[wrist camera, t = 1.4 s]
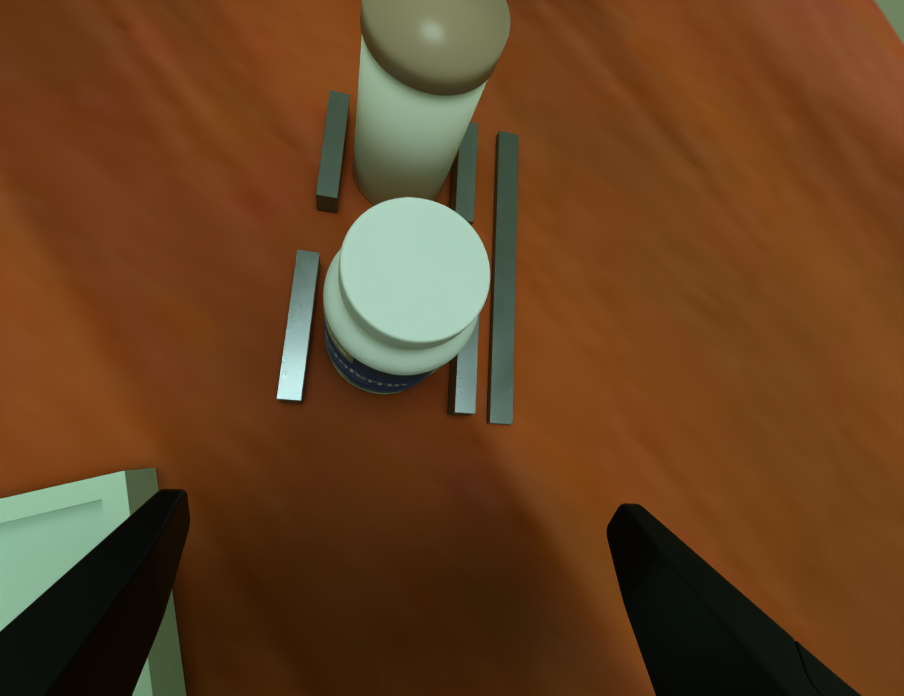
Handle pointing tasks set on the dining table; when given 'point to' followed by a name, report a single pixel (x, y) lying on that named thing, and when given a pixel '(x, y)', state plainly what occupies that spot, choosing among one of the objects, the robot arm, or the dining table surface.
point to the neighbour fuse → (420, 89)
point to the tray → (79, 554)
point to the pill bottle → (403, 294)
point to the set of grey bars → (463, 204)
